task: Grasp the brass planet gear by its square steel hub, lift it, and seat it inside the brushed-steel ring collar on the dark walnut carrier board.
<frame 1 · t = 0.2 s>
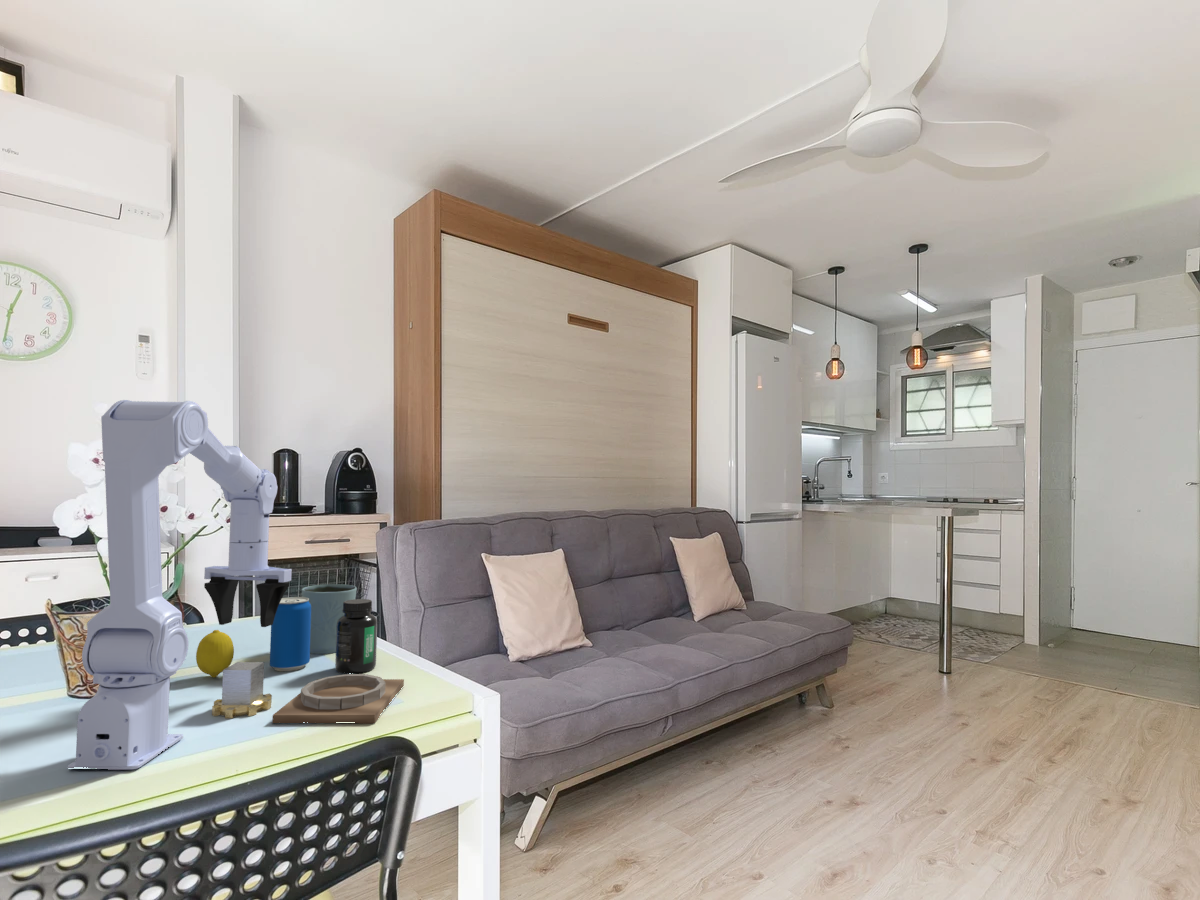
hand: (246, 624, 108), 10 cm above the table, fingers open, 7 cm apart
planet gear: (242, 708, 97), on the table
beverage can: (289, 668, 118), on the table
lemon: (214, 678, 111), on the table
carrier: (343, 703, 99), on the table
supplement bottle: (355, 670, 117), on the table
green plant pot: (327, 649, 131), on the table
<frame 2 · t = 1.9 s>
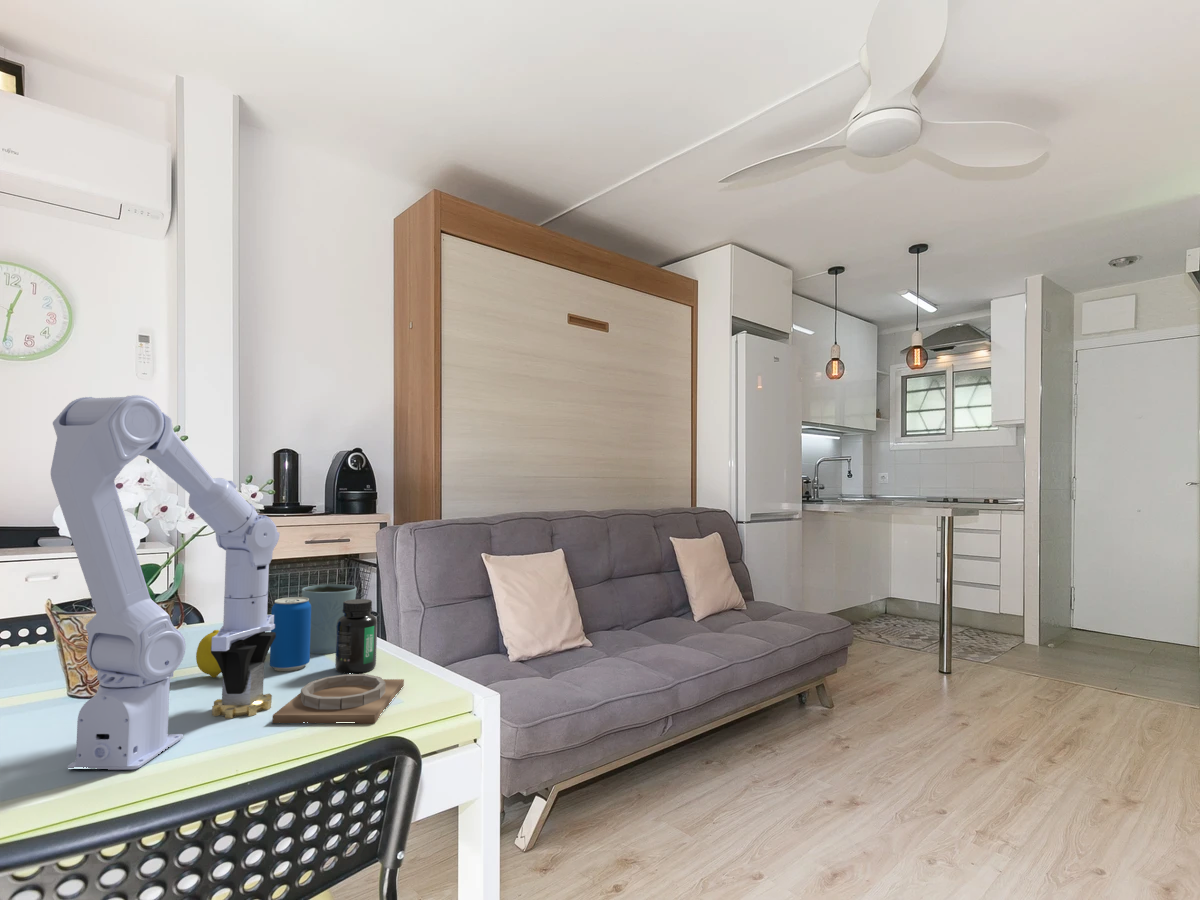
hand: (243, 688, 97), 3 cm above the table, fingers closed on planet gear, 4 cm apart
planet gear: (242, 708, 97), on the table, touching gripper
everything else where it was.
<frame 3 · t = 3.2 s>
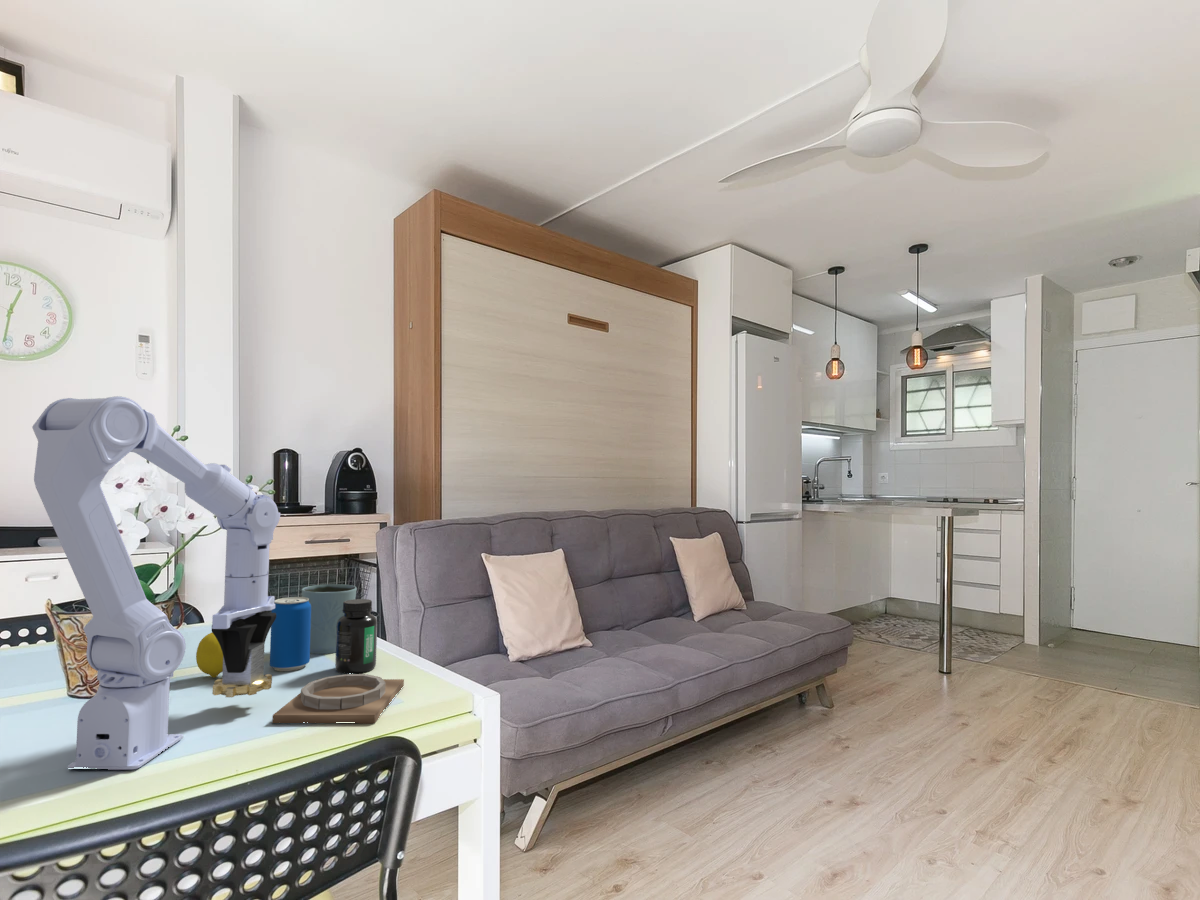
hand: (243, 667, 97), 6 cm above the table, fingers closed on planet gear, 4 cm apart
planet gear: (242, 688, 97), point 3 cm above the table, touching gripper
everything else where it was.
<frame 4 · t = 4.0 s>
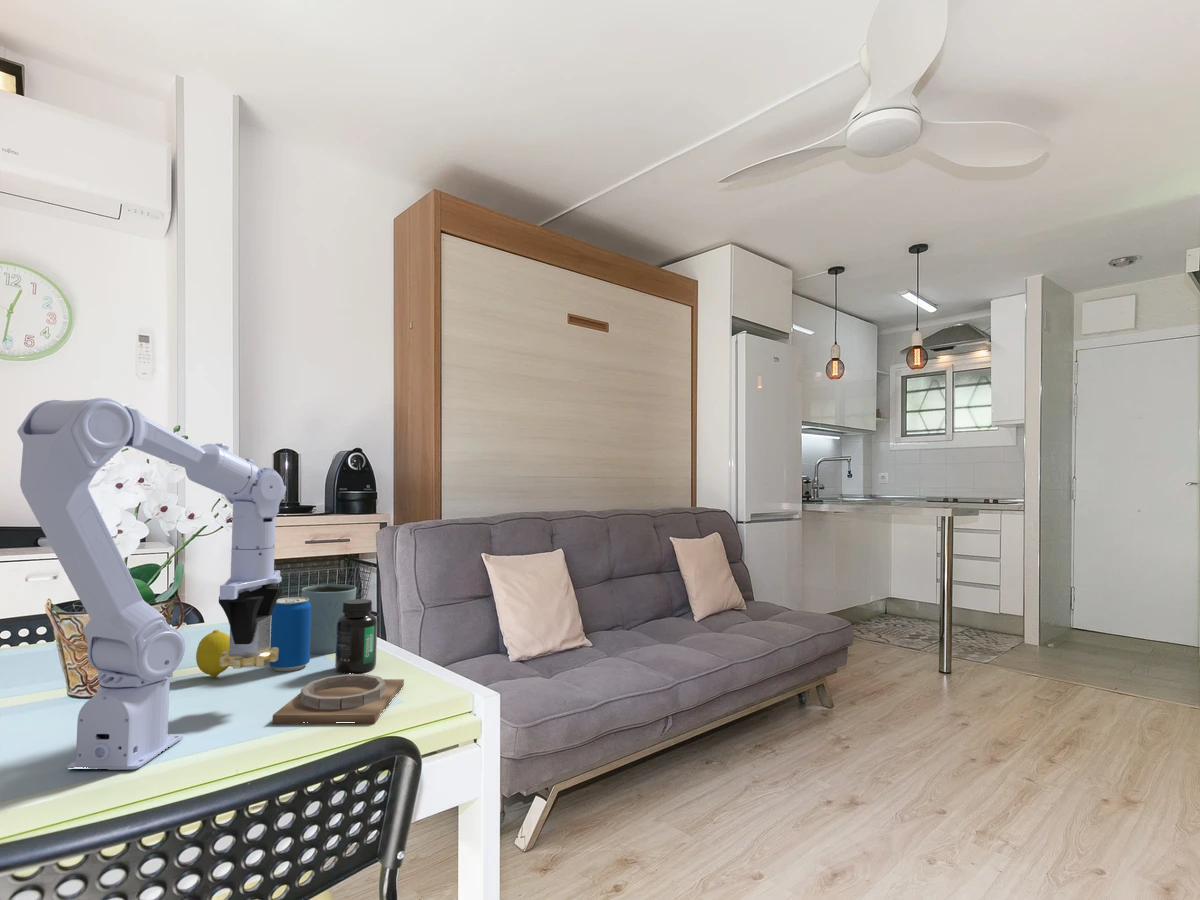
hand: (250, 639, 97), 10 cm above the table, fingers closed on planet gear, 4 cm apart
planet gear: (249, 660, 97), point 7 cm above the table, touching gripper
everything else where it was.
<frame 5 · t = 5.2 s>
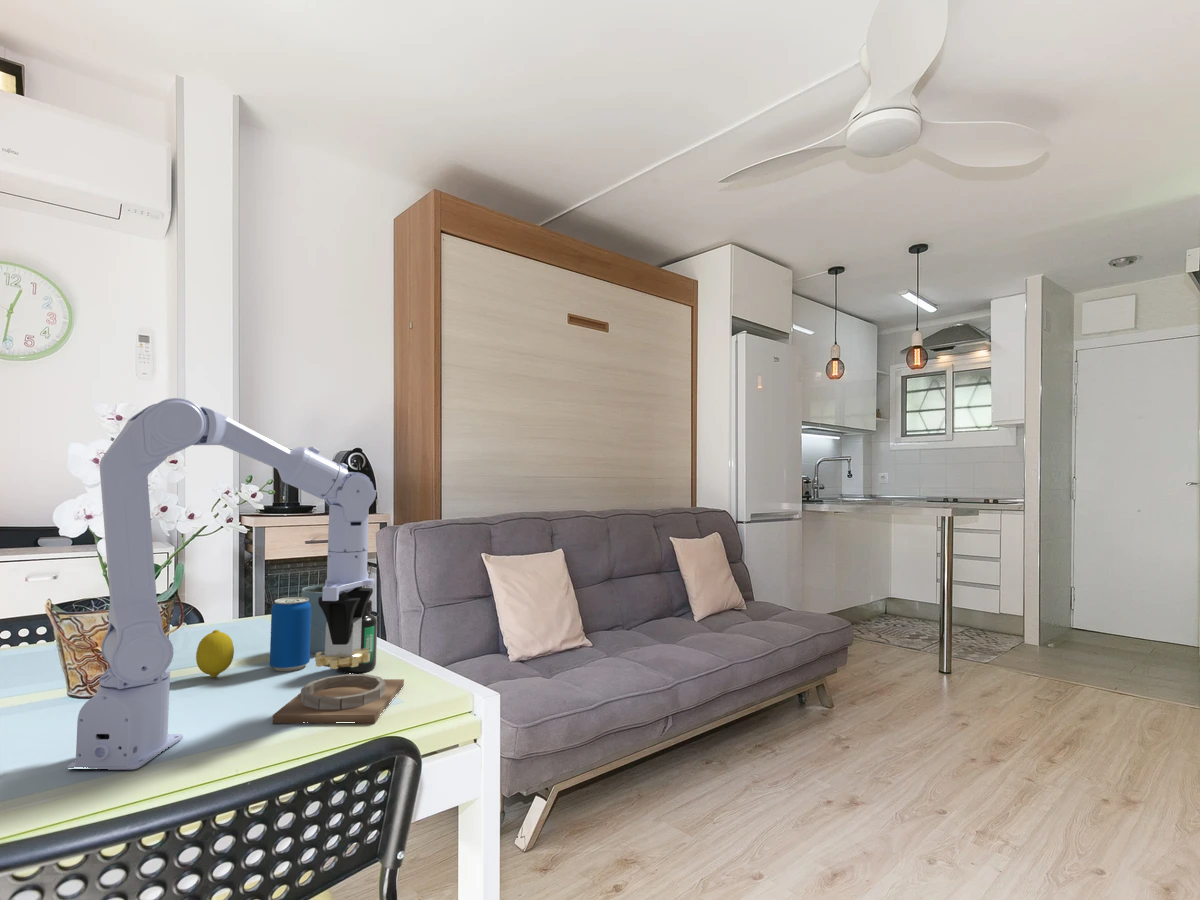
hand: (345, 640, 100), 10 cm above the table, fingers closed on planet gear, 4 cm apart
planet gear: (342, 661, 100), point 6 cm above the table, touching gripper
everything else where it was.
when the fingers open (5 cm above the table, at t = 6.3 s): planet gear stays where it is, resting on carrier.
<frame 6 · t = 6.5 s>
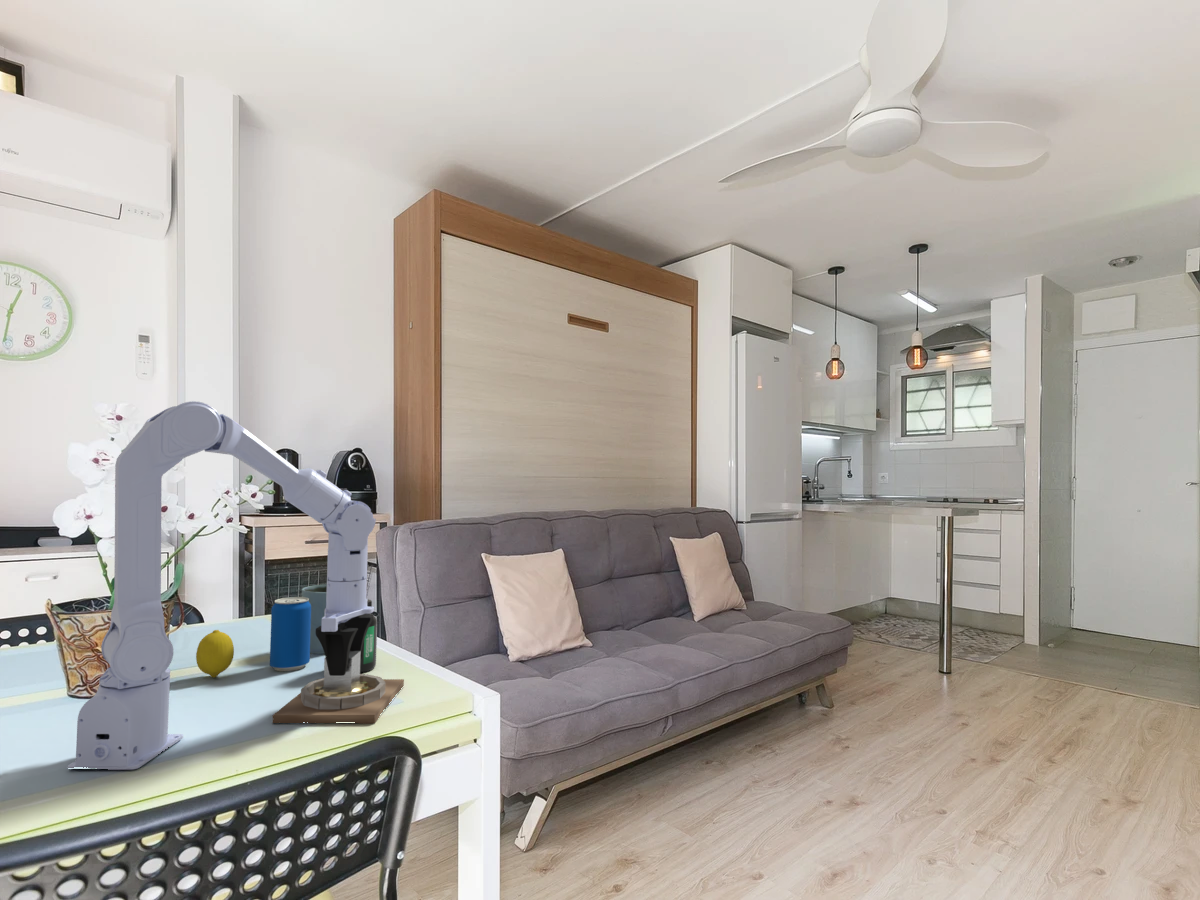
hand: (344, 668, 99), 5 cm above the table, fingers open, 5 cm apart
planet gear: (341, 695, 99), point 1 cm above the table, touching carrier
everything else where it was.
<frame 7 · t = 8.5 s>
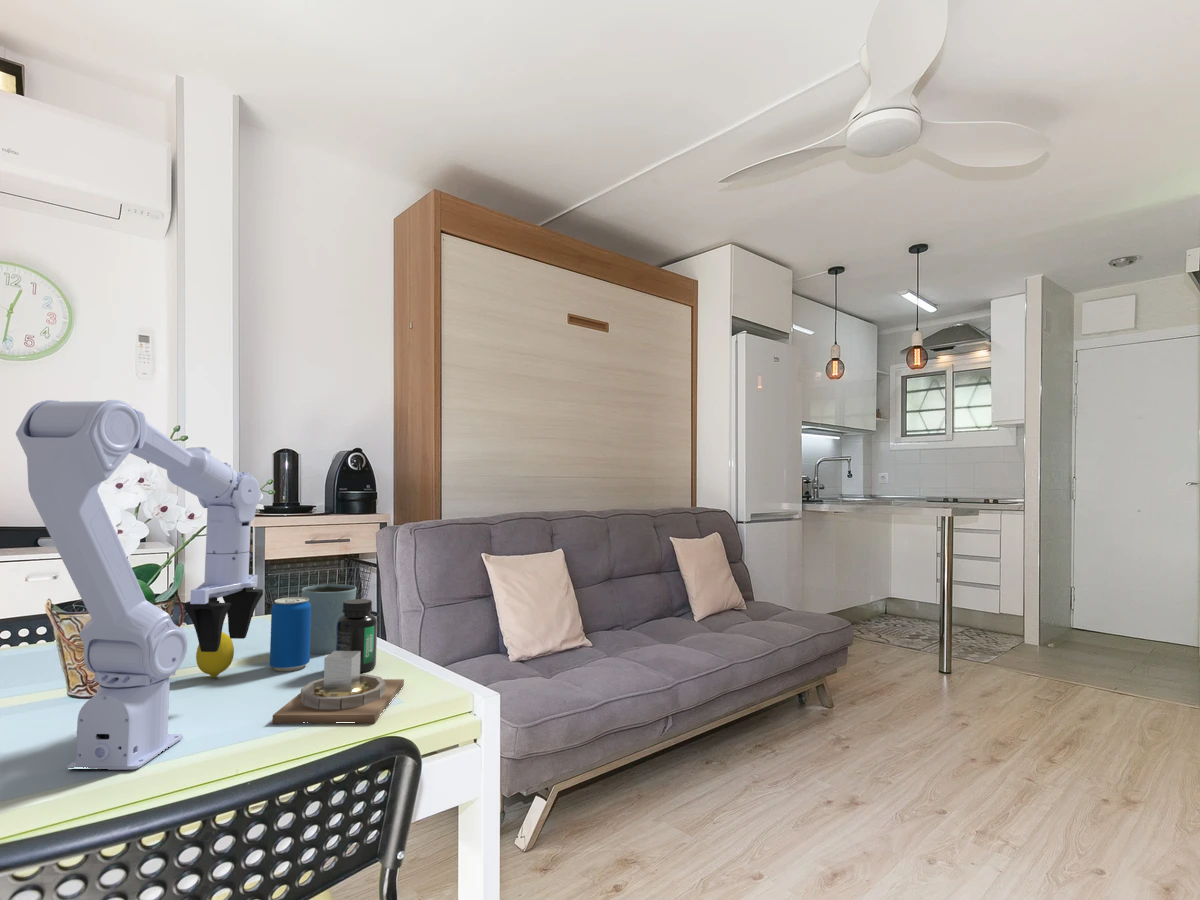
hand: (224, 644, 97), 9 cm above the table, fingers open, 7 cm apart
nothing on the table moved.
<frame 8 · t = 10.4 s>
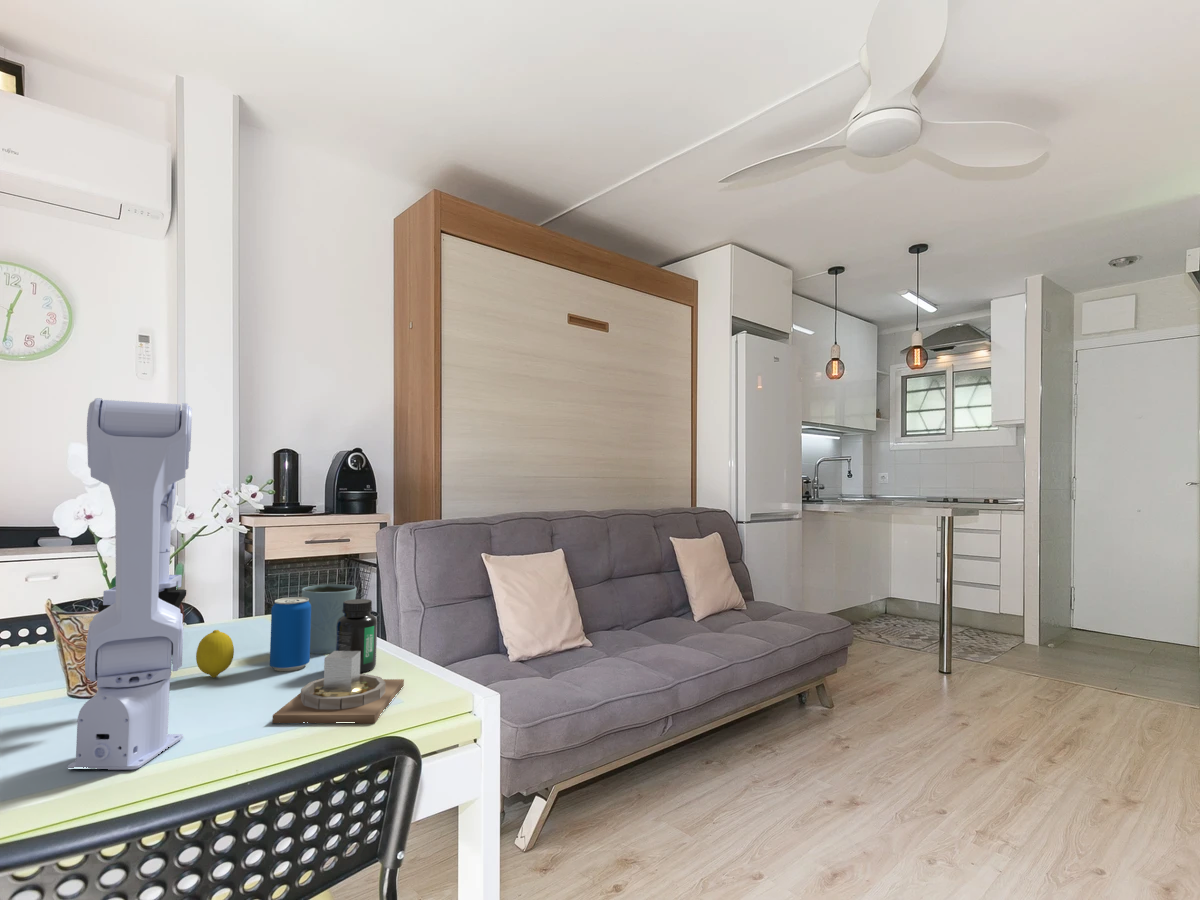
hand: (143, 645, 95), 9 cm above the table, fingers open, 7 cm apart
nothing on the table moved.
at the end: planet gear 0.3 cm off-centre on the carrier, point 1.2 cm above the carrier's base; planet gear tilted 0°; the gripper is holding nothing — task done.
